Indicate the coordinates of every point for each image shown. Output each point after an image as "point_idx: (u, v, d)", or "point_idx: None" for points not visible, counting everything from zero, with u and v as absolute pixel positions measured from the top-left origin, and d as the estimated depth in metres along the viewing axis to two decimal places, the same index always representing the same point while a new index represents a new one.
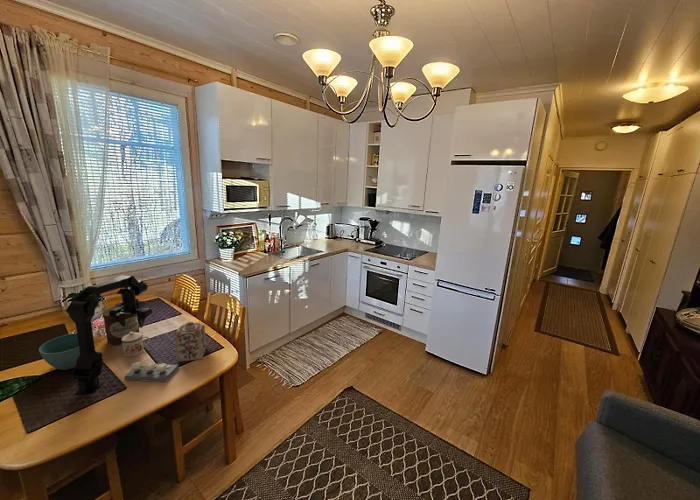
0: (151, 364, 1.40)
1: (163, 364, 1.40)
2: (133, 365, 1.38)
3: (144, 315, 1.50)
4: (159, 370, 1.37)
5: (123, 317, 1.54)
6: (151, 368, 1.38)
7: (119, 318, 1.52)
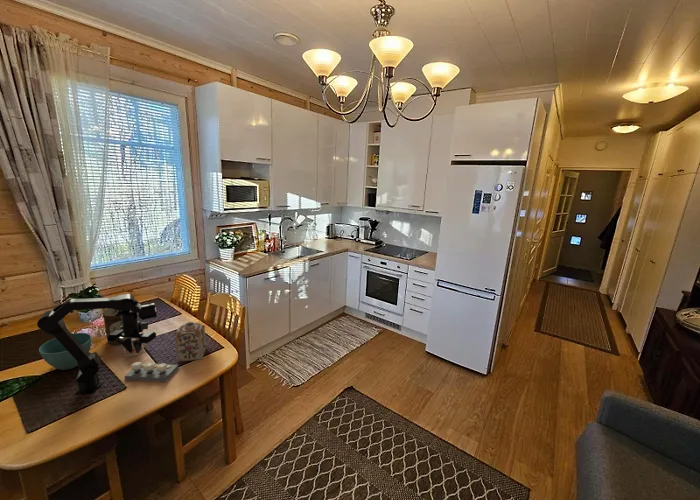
0: (151, 364, 1.40)
1: (163, 364, 1.40)
2: (133, 365, 1.38)
3: (147, 340, 1.33)
4: (159, 370, 1.37)
5: (130, 342, 1.37)
6: (151, 368, 1.38)
7: (125, 343, 1.35)
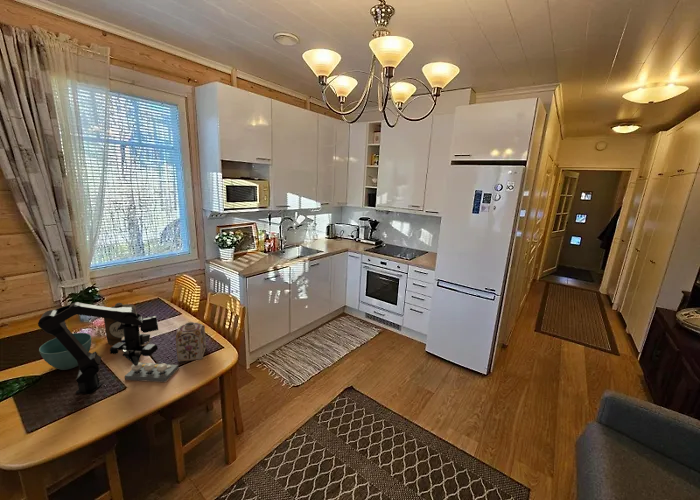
0: (151, 364, 1.40)
1: (163, 364, 1.40)
2: (133, 366, 1.38)
3: (149, 353, 1.34)
4: (159, 370, 1.37)
5: None
6: (151, 368, 1.38)
7: (130, 356, 1.36)
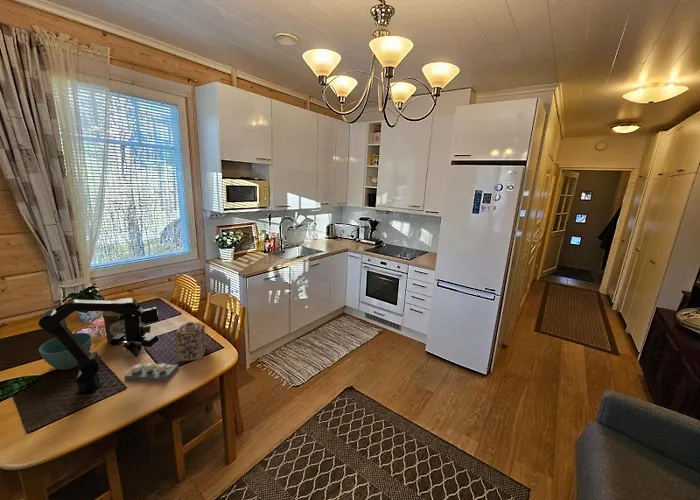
0: (151, 364, 1.40)
1: (163, 364, 1.40)
2: (133, 368, 1.39)
3: (150, 344, 1.33)
4: (159, 370, 1.37)
5: None
6: (151, 368, 1.38)
7: (131, 347, 1.35)
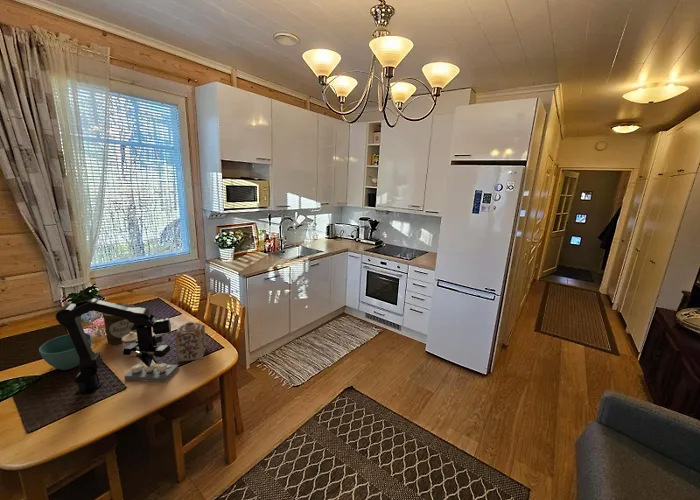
0: (151, 365, 1.40)
1: (163, 364, 1.40)
2: (133, 368, 1.39)
3: (162, 354, 1.34)
4: (159, 370, 1.37)
5: None
6: (151, 369, 1.38)
7: (143, 357, 1.36)
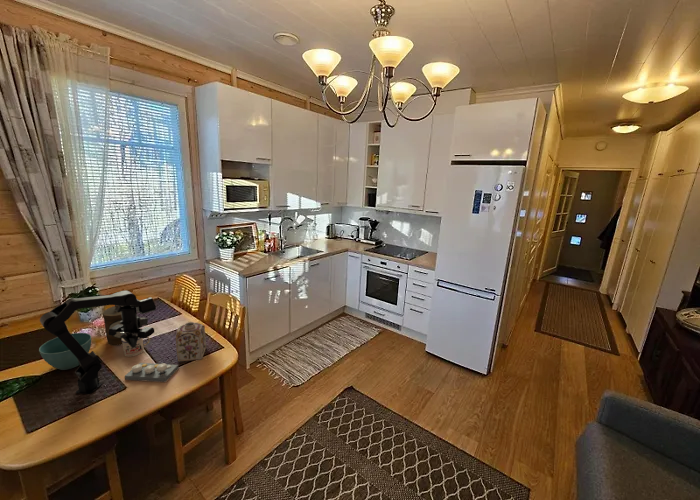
0: (151, 367, 1.40)
1: (163, 364, 1.40)
2: (133, 368, 1.39)
3: (145, 335, 1.37)
4: (159, 370, 1.37)
5: None
6: (151, 371, 1.39)
7: (128, 338, 1.39)
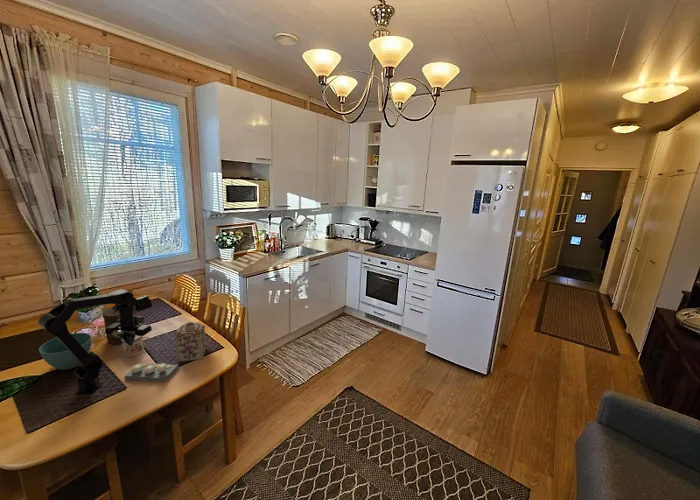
0: (151, 367, 1.40)
1: (163, 364, 1.40)
2: (133, 368, 1.39)
3: (143, 333, 1.38)
4: (159, 370, 1.37)
5: None
6: (151, 371, 1.39)
7: (125, 336, 1.40)
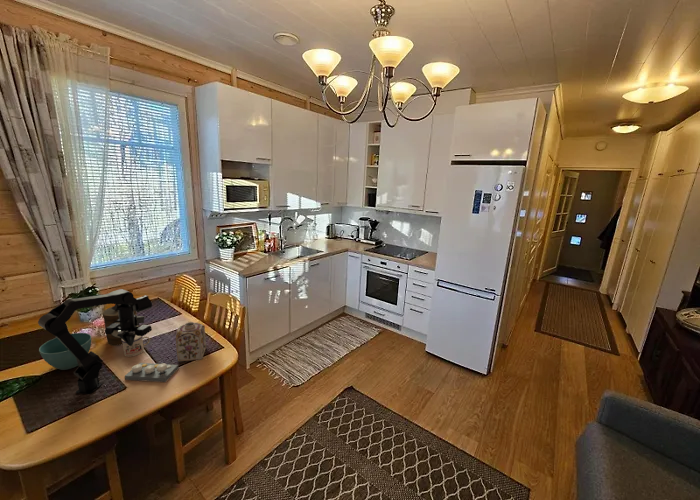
0: (151, 367, 1.40)
1: (163, 364, 1.40)
2: (133, 368, 1.39)
3: (143, 333, 1.38)
4: (159, 370, 1.37)
5: None
6: (151, 371, 1.39)
7: (125, 336, 1.40)
